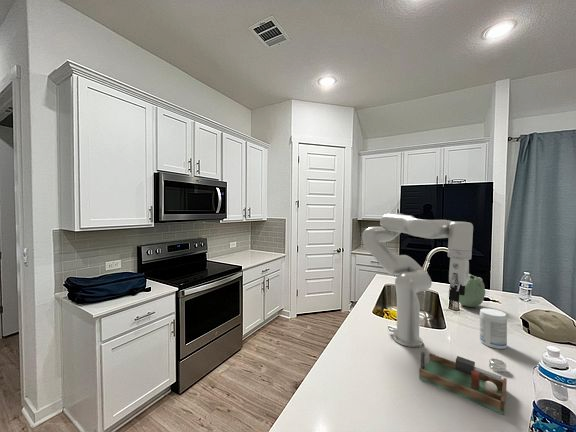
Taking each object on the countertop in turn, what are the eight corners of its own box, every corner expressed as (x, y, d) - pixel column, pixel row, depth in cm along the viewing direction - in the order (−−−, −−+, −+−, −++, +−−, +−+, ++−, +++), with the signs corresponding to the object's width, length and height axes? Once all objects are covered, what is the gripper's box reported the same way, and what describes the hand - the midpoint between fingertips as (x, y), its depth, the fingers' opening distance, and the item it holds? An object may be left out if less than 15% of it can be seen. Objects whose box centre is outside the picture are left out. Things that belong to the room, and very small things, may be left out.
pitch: (415, 376, 90) (415, 360, 90) (426, 360, 100) (426, 345, 100) (504, 415, 73) (504, 395, 73) (506, 390, 83) (506, 373, 83)
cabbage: (447, 304, 160) (448, 274, 159) (462, 299, 169) (463, 270, 169) (475, 313, 146) (476, 280, 146) (490, 307, 156) (491, 276, 155)
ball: (497, 387, 78) (497, 398, 78) (498, 381, 81) (498, 392, 81) (482, 382, 80) (482, 393, 80) (484, 377, 83) (484, 387, 83)
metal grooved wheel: (509, 371, 93) (494, 364, 98) (509, 364, 93) (494, 356, 98) (500, 374, 91) (486, 366, 96) (501, 366, 91) (486, 359, 96)
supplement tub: (509, 345, 111) (510, 313, 111) (502, 352, 106) (503, 318, 106) (483, 336, 119) (484, 306, 119) (475, 342, 114) (476, 310, 114)
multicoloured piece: (455, 380, 86) (455, 359, 86) (456, 376, 88) (457, 355, 88) (500, 399, 78) (501, 375, 77) (501, 393, 80) (501, 371, 80)
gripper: (466, 258, 86) (463, 306, 87) (475, 252, 98) (472, 294, 99) (442, 255, 91) (439, 300, 92) (453, 249, 104) (451, 289, 104)
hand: (456, 297), depth 96 cm, fingers open, 9 cm apart
